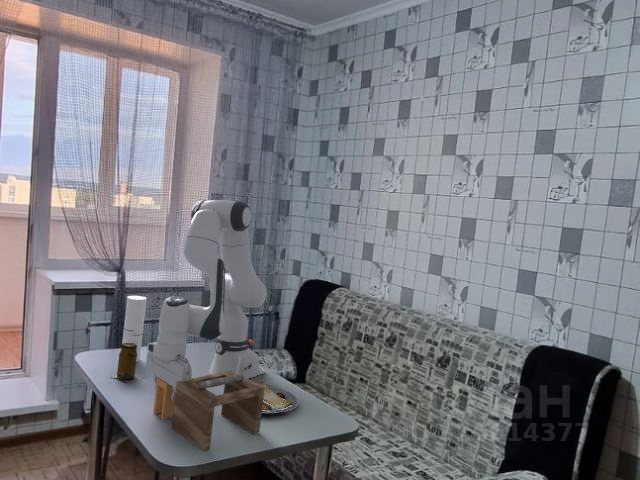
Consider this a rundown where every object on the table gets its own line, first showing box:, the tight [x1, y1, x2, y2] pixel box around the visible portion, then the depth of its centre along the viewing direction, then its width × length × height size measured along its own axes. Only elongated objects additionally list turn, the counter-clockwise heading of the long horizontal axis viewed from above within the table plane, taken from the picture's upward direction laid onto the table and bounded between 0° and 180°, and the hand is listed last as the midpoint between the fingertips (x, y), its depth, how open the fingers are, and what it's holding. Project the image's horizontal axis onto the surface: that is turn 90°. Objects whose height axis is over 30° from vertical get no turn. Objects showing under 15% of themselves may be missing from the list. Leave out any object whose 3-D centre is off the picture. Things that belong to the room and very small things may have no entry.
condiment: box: [110, 343, 143, 384], centre depth 179 cm, size 7×8×12 cm
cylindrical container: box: [121, 295, 147, 363], centre depth 197 cm, size 7×7×25 cm
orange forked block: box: [153, 378, 174, 420], centre depth 153 cm, size 4×6×11 cm
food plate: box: [258, 381, 299, 414], centre depth 173 cm, size 25×23×4 cm
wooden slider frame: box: [170, 371, 265, 452], centre depth 147 cm, size 20×16×16 cm
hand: (165, 394), depth 153 cm, fingers open, 8 cm apart
